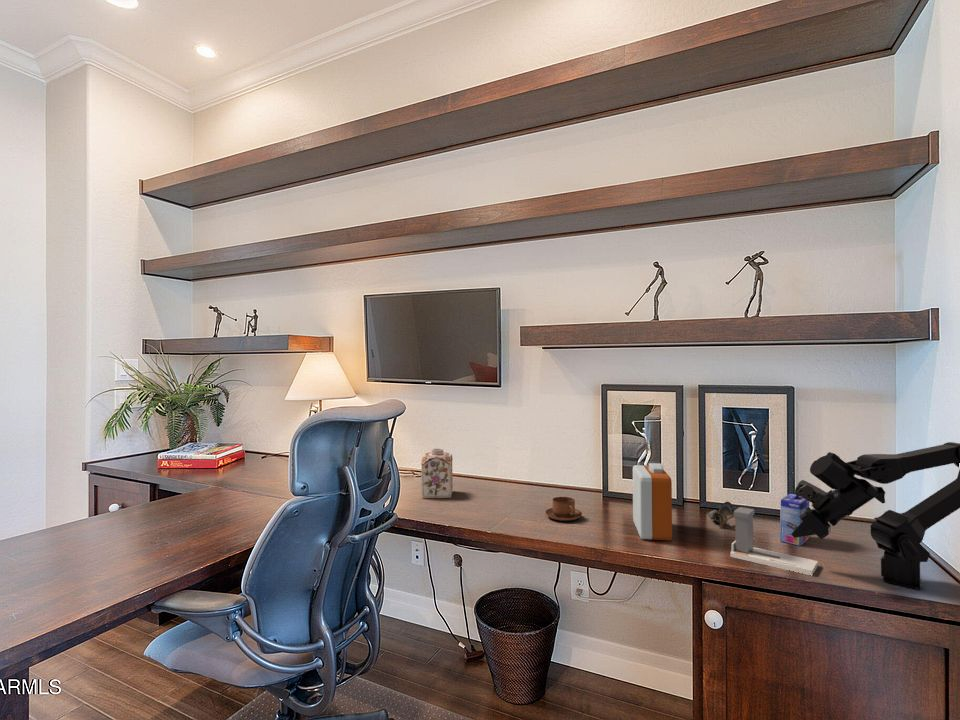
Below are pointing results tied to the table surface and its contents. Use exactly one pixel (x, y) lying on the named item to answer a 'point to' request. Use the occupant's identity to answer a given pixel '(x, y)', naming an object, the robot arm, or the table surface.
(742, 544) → the switch knob
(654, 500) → the alarm clock
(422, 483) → the decorative jar
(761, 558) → the switch unit
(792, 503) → the ink cartridge box
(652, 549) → the table surface
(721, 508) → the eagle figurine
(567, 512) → the cup and saucer
